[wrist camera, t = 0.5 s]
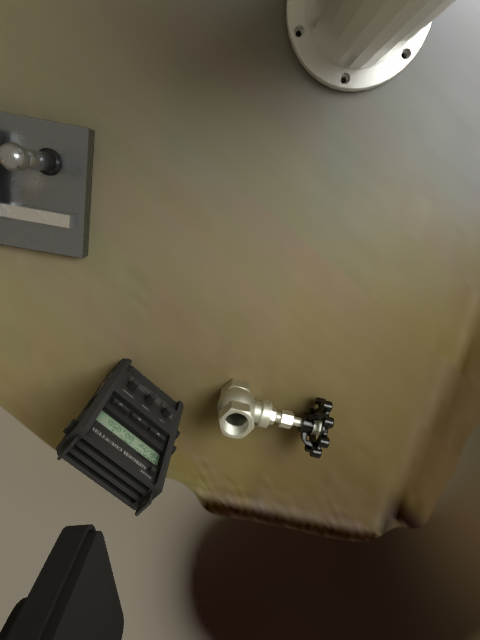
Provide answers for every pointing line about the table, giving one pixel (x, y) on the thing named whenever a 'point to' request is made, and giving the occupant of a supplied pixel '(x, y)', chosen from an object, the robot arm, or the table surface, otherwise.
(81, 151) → the plate
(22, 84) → the table surface
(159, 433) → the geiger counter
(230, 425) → the valve
